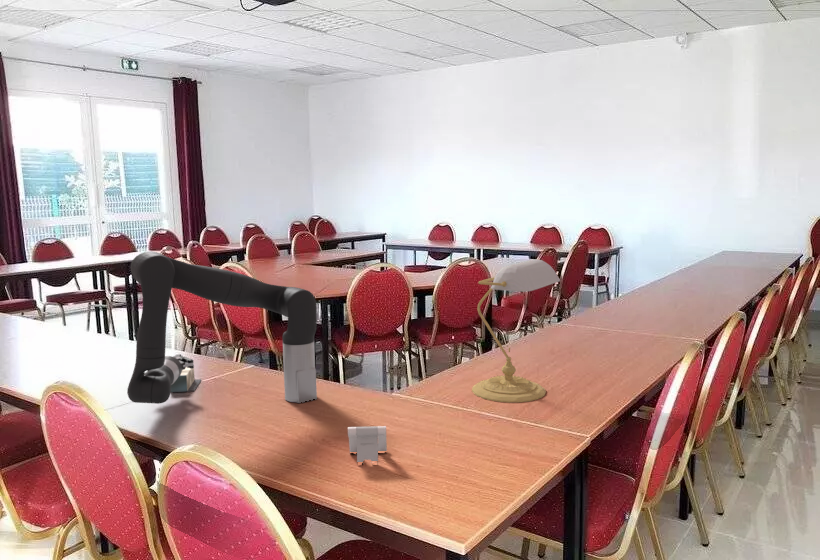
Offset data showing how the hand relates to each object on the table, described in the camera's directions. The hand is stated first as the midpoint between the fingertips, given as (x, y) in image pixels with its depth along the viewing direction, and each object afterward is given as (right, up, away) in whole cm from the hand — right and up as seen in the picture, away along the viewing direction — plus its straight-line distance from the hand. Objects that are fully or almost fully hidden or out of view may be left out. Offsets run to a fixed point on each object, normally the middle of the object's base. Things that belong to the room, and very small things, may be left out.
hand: (178, 357), depth 203 cm
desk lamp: (+103, -10, -4) cm, 103 cm away
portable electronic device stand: (+63, -17, -53) cm, 84 cm away
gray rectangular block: (0, -10, +5) cm, 11 cm away
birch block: (0, -8, -2) cm, 8 cm away
